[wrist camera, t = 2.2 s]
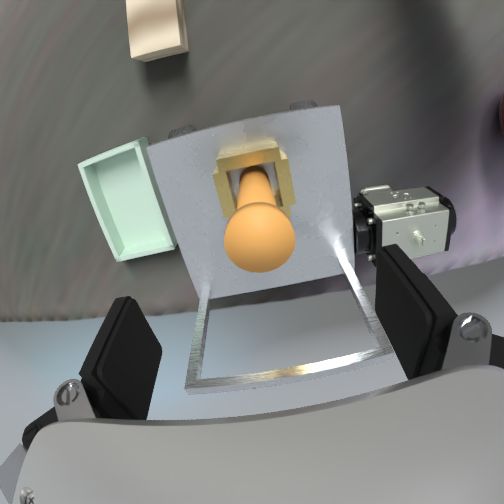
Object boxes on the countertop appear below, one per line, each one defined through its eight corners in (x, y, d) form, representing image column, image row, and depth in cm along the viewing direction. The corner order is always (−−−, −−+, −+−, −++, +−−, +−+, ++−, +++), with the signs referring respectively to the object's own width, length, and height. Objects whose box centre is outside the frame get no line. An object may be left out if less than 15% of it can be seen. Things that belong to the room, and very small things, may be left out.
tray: (89, 158, 30) (77, 164, 28) (146, 136, 30) (137, 140, 27) (124, 250, 37) (116, 261, 34) (179, 237, 36) (174, 249, 33)
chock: (139, 4, 21) (125, -7, 18) (182, -7, 21) (173, -21, 17) (145, 62, 25) (131, 57, 22) (189, 51, 25) (180, 45, 21)
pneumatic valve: (413, 208, 34) (463, 253, 24) (332, 222, 35) (365, 276, 25) (413, 169, 32) (471, 203, 21) (328, 179, 33) (365, 221, 22)
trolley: (170, 129, 29) (67, 184, 11) (313, 98, 28) (416, 107, 10) (210, 259, 38) (185, 401, 20) (332, 235, 36) (398, 364, 18)
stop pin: (229, 164, 23) (216, 218, 13) (270, 156, 23) (289, 202, 13) (238, 203, 25) (233, 278, 15) (278, 194, 24) (299, 265, 15)
